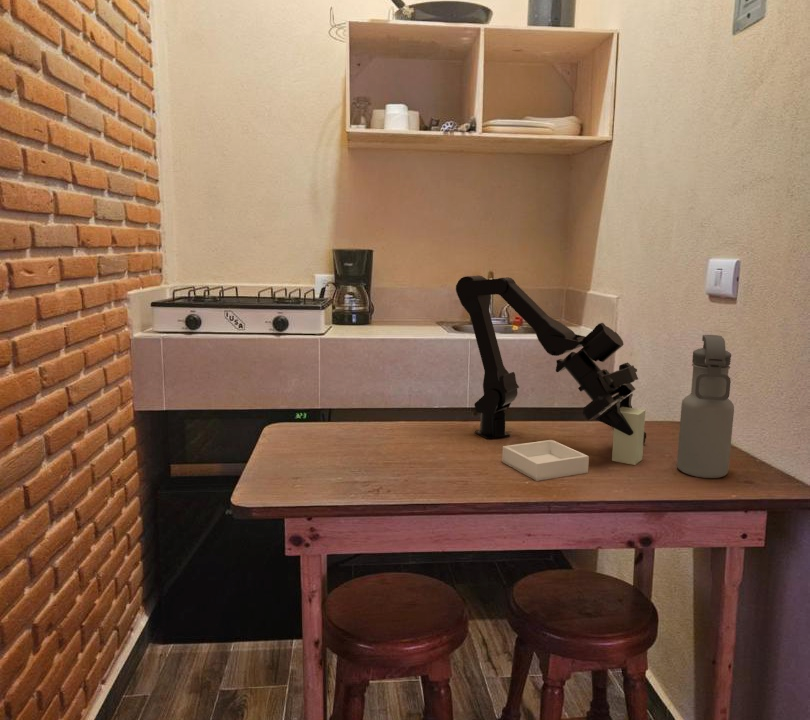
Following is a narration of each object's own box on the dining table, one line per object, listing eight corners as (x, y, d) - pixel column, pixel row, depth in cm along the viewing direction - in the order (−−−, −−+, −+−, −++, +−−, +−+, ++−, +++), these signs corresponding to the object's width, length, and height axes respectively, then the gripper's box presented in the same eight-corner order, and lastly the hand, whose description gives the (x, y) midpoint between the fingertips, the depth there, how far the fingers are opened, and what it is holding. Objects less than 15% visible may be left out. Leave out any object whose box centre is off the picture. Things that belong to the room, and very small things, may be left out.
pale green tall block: (611, 460, 144) (614, 411, 143) (619, 454, 148) (622, 406, 147) (635, 465, 142) (638, 414, 140) (642, 459, 146) (645, 410, 144)
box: (502, 462, 143) (502, 446, 143) (550, 454, 148) (551, 439, 148) (536, 481, 132) (537, 464, 131) (587, 472, 137) (588, 456, 136)
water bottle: (732, 482, 132) (745, 341, 127) (678, 477, 134) (689, 339, 130) (723, 466, 141) (735, 334, 136) (674, 461, 144) (684, 332, 139)
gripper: (600, 358, 136) (652, 419, 131) (628, 346, 151) (676, 401, 146) (561, 390, 142) (610, 450, 137) (592, 376, 157) (637, 430, 152)
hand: (635, 431), depth 143 cm, fingers closed on pale green tall block, 5 cm apart
